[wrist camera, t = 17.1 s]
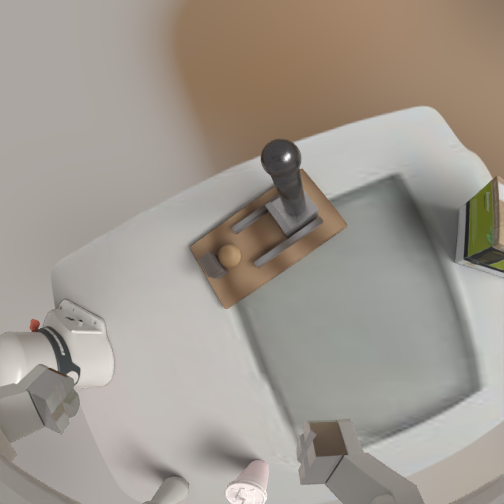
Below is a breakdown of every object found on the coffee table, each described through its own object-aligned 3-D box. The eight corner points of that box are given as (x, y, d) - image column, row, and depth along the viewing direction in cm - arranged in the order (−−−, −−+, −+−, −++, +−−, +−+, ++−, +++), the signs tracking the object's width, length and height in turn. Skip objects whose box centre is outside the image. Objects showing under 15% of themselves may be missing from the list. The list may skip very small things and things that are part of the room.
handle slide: (300, 191, 43) (283, 118, 25) (319, 216, 42) (316, 152, 23) (269, 212, 44) (232, 151, 25) (288, 238, 42) (262, 189, 24)
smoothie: (244, 479, 37) (219, 523, 24) (239, 454, 39) (210, 496, 26) (278, 479, 36) (262, 527, 23) (274, 453, 38) (255, 500, 24)
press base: (302, 172, 45) (299, 155, 40) (346, 226, 42) (350, 215, 36) (193, 249, 48) (177, 241, 42) (227, 308, 44) (214, 308, 39)
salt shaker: (188, 496, 39) (159, 528, 26) (165, 483, 40) (133, 511, 28) (196, 482, 39) (166, 516, 27) (172, 468, 41) (137, 498, 28)
